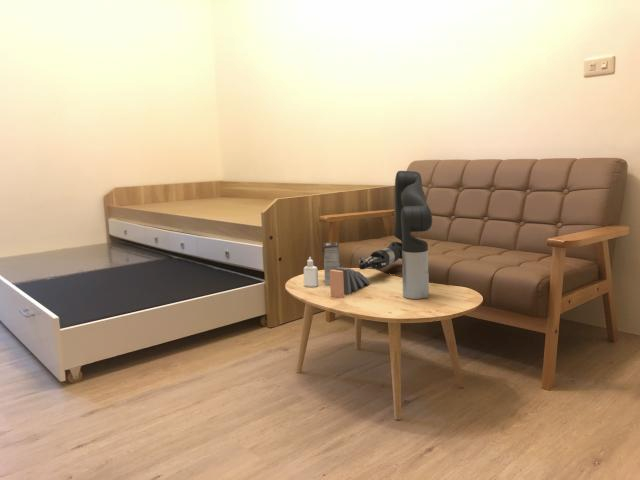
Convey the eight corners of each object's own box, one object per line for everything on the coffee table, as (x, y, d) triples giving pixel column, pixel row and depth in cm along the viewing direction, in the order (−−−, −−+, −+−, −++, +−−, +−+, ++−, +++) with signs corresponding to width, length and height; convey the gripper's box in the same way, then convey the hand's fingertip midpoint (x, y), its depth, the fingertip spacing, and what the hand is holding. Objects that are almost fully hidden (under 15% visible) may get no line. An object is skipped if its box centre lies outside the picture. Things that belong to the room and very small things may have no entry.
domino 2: (340, 291, 206) (337, 267, 203) (351, 293, 203) (348, 268, 200) (338, 292, 204) (335, 268, 202) (349, 294, 202) (346, 269, 199)
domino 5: (359, 279, 217) (348, 270, 209) (370, 281, 214) (358, 271, 206) (358, 283, 216) (346, 273, 209) (368, 285, 213) (357, 275, 206)
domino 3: (347, 286, 209) (340, 267, 204) (357, 288, 206) (351, 268, 201) (345, 289, 208) (338, 269, 203) (356, 291, 205) (349, 271, 200)
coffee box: (324, 279, 225) (323, 242, 222) (340, 278, 225) (338, 241, 222) (324, 285, 216) (323, 246, 213) (340, 284, 216) (339, 245, 213)
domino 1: (333, 295, 202) (332, 269, 200) (344, 296, 199) (343, 270, 197) (330, 296, 200) (329, 270, 199) (341, 298, 198) (340, 271, 196)
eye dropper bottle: (312, 288, 212) (310, 259, 210) (302, 285, 216) (301, 257, 214) (320, 285, 215) (318, 257, 213) (310, 283, 219) (309, 255, 217)
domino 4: (353, 283, 213) (343, 268, 206) (364, 284, 210) (354, 270, 203) (351, 286, 212) (341, 272, 206) (362, 288, 209) (352, 273, 203)
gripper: (368, 248, 229) (346, 256, 215) (396, 250, 221) (375, 259, 208) (369, 265, 230) (347, 274, 217) (396, 268, 223) (375, 277, 209)
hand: (361, 266), depth 212 cm, fingers closed
